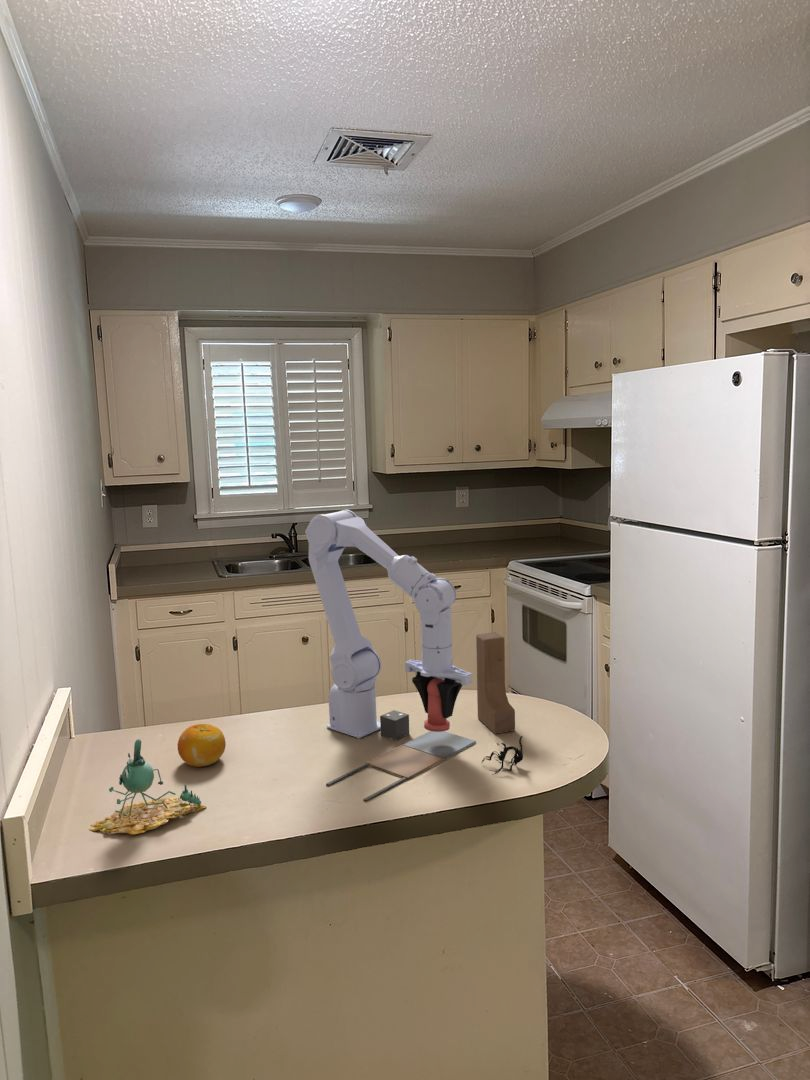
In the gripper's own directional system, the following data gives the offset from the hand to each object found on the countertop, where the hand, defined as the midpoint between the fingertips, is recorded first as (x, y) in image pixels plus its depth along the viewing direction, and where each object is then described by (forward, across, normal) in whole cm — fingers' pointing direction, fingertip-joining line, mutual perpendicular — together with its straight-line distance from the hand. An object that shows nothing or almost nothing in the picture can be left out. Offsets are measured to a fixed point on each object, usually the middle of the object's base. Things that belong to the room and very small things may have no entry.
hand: (438, 714), depth 150 cm
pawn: (+2, 0, -1) cm, 2 cm away
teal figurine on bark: (+6, -18, -51) cm, 54 cm away
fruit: (+6, -30, -32) cm, 45 cm away
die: (+6, -10, -2) cm, 12 cm away
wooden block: (+6, +3, +14) cm, 16 cm away
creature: (+6, +15, 0) cm, 16 cm away
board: (+6, 0, -10) cm, 12 cm away
